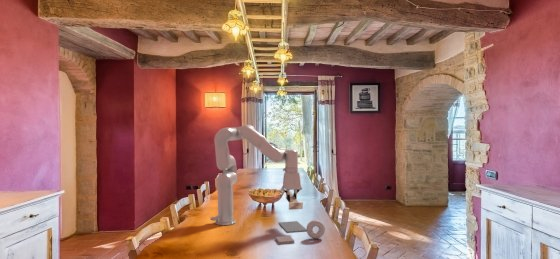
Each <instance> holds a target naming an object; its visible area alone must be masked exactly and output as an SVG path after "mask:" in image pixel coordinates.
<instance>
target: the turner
mask: <svg viewBox="0 0 560 259" xmlns="http://www.w3.org/2000/svg"><path fill="white" fill-rule="evenodd" d="M293 194H294V193H292V192H291V191H289V195H290V201H288V200H287V194H286V193H285V199H286V200H287V202H288V210H289V211H291V210H293V211H294V210H302V209H303V205H304V202H303V201H298V200H297V199H296V198H295V197H294V196H293Z"/></svg>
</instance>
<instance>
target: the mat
mask: <svg viewBox="0 0 560 259" xmlns="http://www.w3.org/2000/svg"><path fill="white" fill-rule="evenodd" d="M278 224H279V226H280V227H281V228H282V229H283V230H284V231H285V232H286V233H287V234H289V233H301V232H307V230H306V229H307V228H306V227H305V226H303V224H301V223H300V222H299V221H297V220H293V221H280V222H278Z"/></svg>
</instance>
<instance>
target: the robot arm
mask: <svg viewBox="0 0 560 259" xmlns="http://www.w3.org/2000/svg"><path fill="white" fill-rule="evenodd" d="M239 140H245V141H246V142H248V143H249V144H251V145H252V146H253V147H255V149H257V150H258V151H259V152H260V153H261V154H262V155H263V156H265V157H266V158H268V159H269V160H270V161H272V162H273V163H276V164H277V163H281V162H284V163H285V164H284V166H285V167H284V168H282V171H283V178H282V179H283V180H282V186H281V188H280V191H281V192H284V193H285V195H286V194H287V199H286V201H287V202H288V201H290V195H289V192H291V191H290V190H292V191H293V193H292V194H293V196H294V197H295V198H296V200H297V197H298V196H297V195H298V194H299V192H301V191H302V190H303V187H302V184H301V175H300V172H299V170H298V168H299V166H298V163H299V162H298V159H299V158H298V150H296V149H280V148H276V147H275V146H274V145H272V144H270V142H269V141H268V140H267V138H266V137H265V136H264V135H263V134H261V133H260V132H258V130H256V128H255V127H254V126H253V125H251V124H243V125H241V126H235V127H228V126H227V127H223V128H221V129H219V130H218V131H217V132H216V134H215V135H214V140H213V141H214V148H215V149H214V150H215V160H216V162H215V163H216V167H217V168H218V170H219V171H222V172H221V173H220V174H219V175H218V176H217V178H216V187H217V188H216V189H217V190H216V191H217V214H216V216H210V217H209V218H210V221H212V222H213V221H215V222H214V223H215V225H217V226H218V225H219V226H230V225H234V224H236V222H237V221H236V219H234V190H233V185H235V184H236V183H237V182H238V169H237V162H236V158H235V157H234V156H233V155H231V154H230V148H229V144H228V143H229V142H231V141H239Z"/></svg>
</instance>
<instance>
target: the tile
mask: <svg viewBox="0 0 560 259" xmlns="http://www.w3.org/2000/svg"><path fill="white" fill-rule="evenodd" d="M275 241H276V243H277V244H278V245H288V244H289V245H290V244H295V240H294V238H293V237H292V236H291V235H284V236H275Z"/></svg>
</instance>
